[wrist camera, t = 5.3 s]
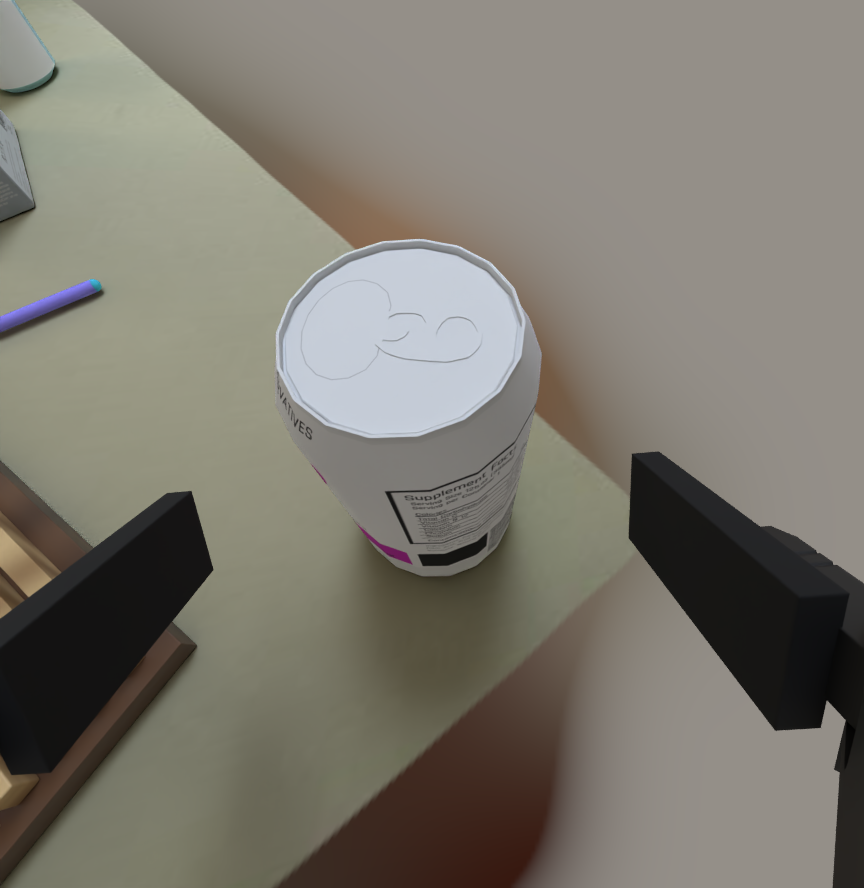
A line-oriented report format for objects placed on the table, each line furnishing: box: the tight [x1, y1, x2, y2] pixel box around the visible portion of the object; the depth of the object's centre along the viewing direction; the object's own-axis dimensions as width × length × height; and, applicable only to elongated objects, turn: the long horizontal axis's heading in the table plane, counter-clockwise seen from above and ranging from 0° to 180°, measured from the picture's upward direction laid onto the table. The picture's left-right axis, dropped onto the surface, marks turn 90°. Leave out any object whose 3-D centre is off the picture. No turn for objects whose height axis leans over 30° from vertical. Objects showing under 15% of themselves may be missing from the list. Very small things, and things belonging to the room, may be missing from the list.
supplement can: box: [275, 239, 542, 576], centre depth 20 cm, size 8×8×15 cm
